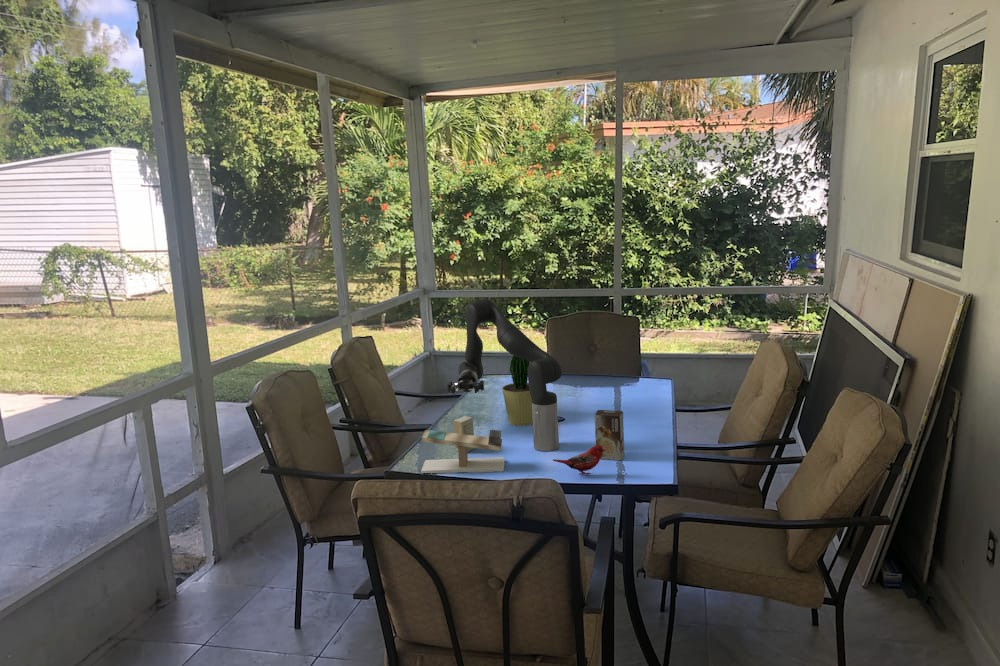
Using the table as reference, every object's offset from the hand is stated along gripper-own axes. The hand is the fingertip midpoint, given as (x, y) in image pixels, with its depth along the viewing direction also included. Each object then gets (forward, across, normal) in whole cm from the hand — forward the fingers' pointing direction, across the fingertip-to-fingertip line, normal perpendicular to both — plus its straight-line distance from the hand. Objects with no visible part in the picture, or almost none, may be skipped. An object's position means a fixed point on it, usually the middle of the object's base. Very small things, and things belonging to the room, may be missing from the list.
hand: (464, 391), depth 256 cm
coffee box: (+23, +52, +20) cm, 60 cm away
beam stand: (+28, +1, +20) cm, 34 cm away
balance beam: (+28, +1, +10) cm, 30 cm away
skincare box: (+11, 0, +20) cm, 23 cm away
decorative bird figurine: (+39, +40, +20) cm, 59 cm away
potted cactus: (-21, +21, +20) cm, 36 cm away
